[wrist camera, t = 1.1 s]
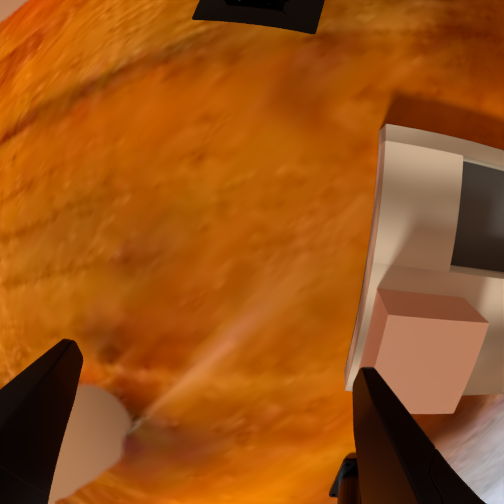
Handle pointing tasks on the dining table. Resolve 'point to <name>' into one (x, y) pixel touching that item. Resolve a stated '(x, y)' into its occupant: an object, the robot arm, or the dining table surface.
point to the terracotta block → (424, 347)
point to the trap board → (438, 236)
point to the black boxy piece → (264, 13)
